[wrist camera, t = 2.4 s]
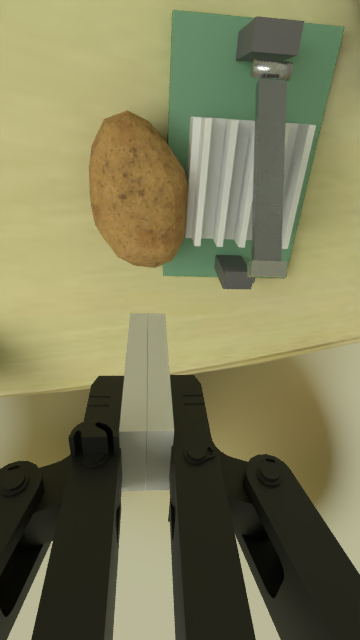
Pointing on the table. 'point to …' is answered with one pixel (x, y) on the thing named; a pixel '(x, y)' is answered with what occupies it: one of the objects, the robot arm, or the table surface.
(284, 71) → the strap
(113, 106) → the table surface
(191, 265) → the heatsink board
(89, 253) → the table surface
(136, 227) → the potato
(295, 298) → the table surface
